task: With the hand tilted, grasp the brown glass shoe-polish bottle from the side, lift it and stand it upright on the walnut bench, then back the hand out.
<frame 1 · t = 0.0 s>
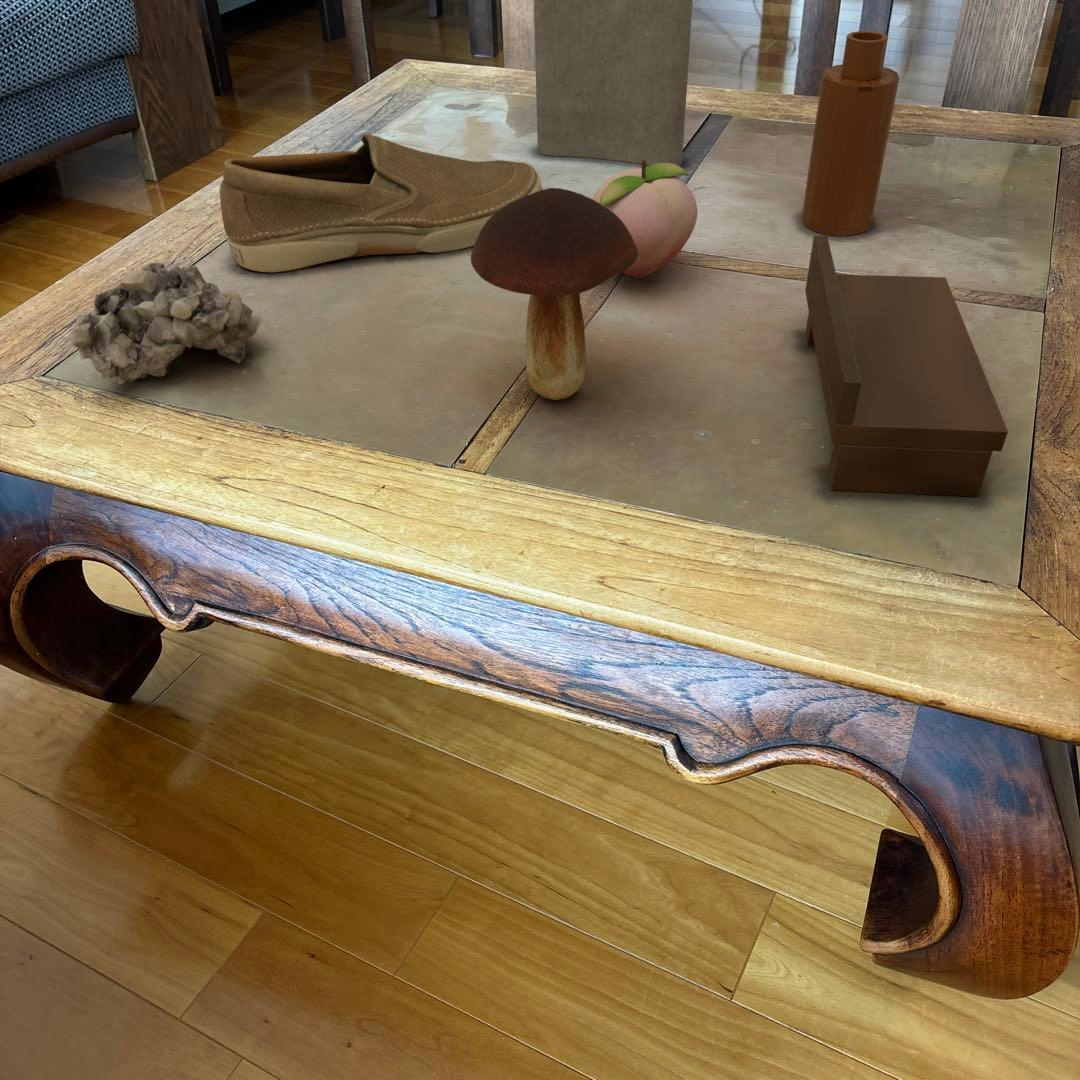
polish bottle: (835, 221, 95), on the table
slip on shoe: (392, 236, 96), on the table
mineral specimen: (184, 366, 79), on the table
walnut bench: (882, 406, 72), on the table
grey upright slab: (609, 156, 109), on the table
decorative fruit: (636, 277, 88), on the table
decorative mushroom: (556, 395, 74), on the table
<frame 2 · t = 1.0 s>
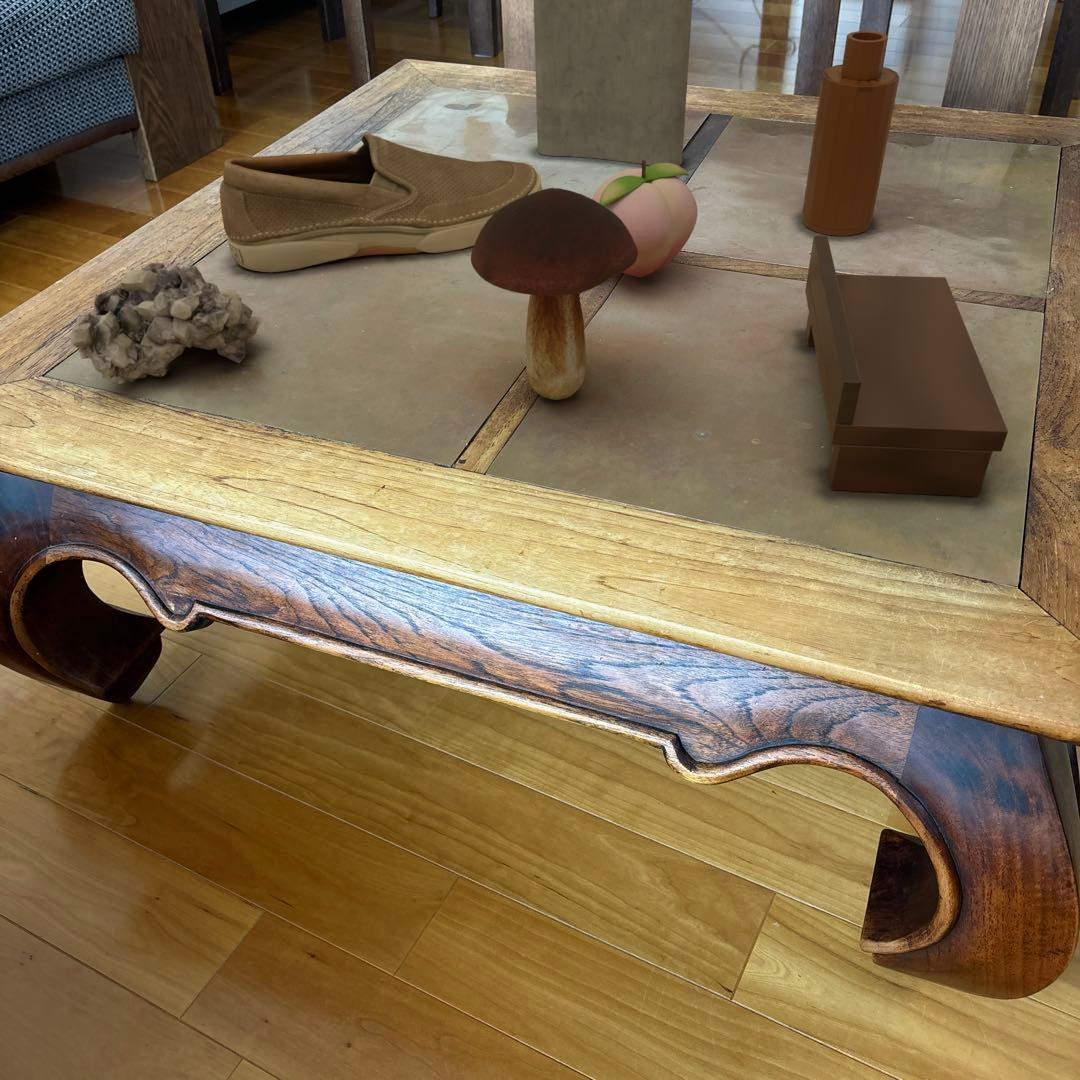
nothing on the table moved.
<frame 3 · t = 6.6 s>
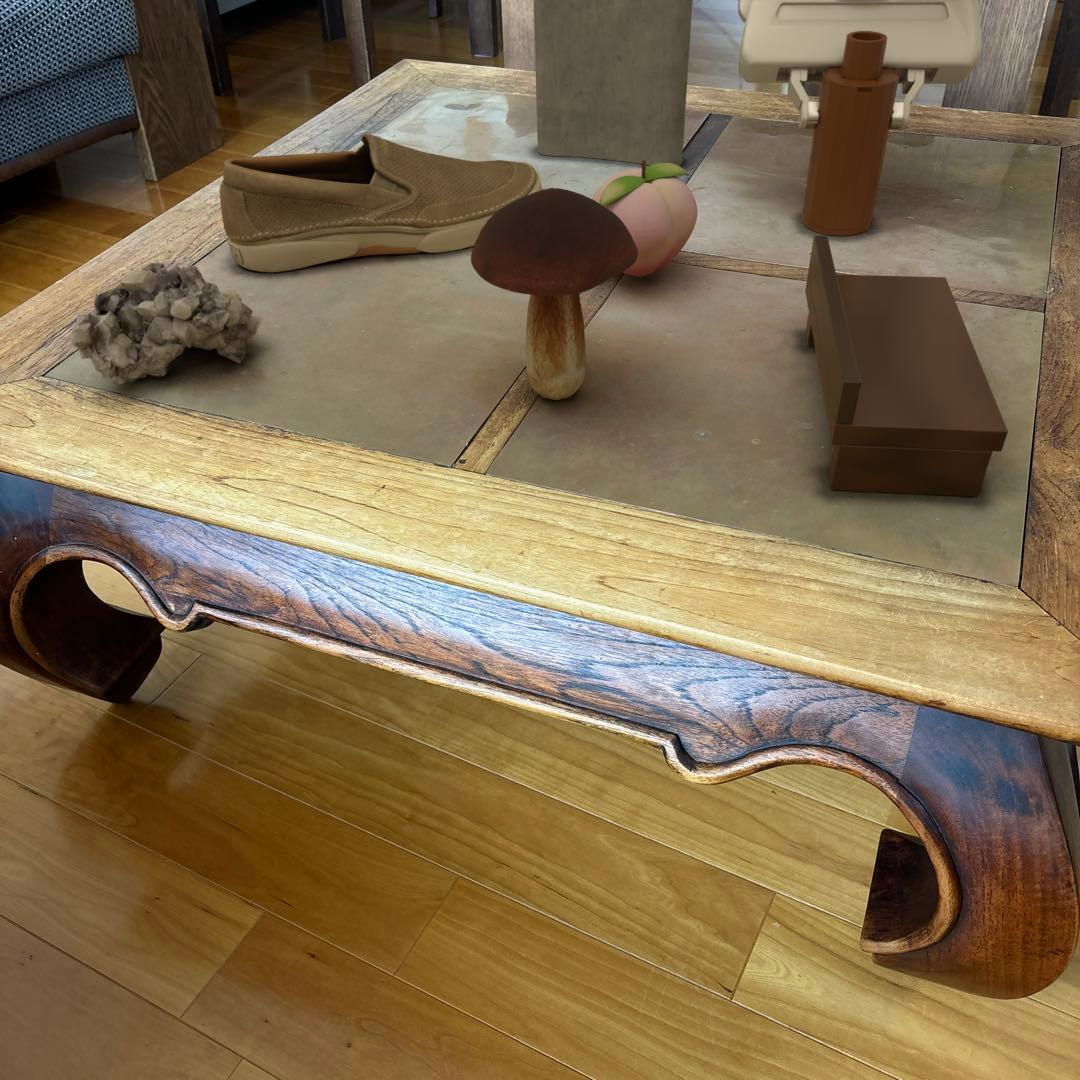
hand: (853, 126, 89), 9 cm above the table, tool tilted 45°, fingers closed on polish bottle, 6 cm apart
polish bottle: (835, 221, 95), on the table, touching gripper
everything else where it was.
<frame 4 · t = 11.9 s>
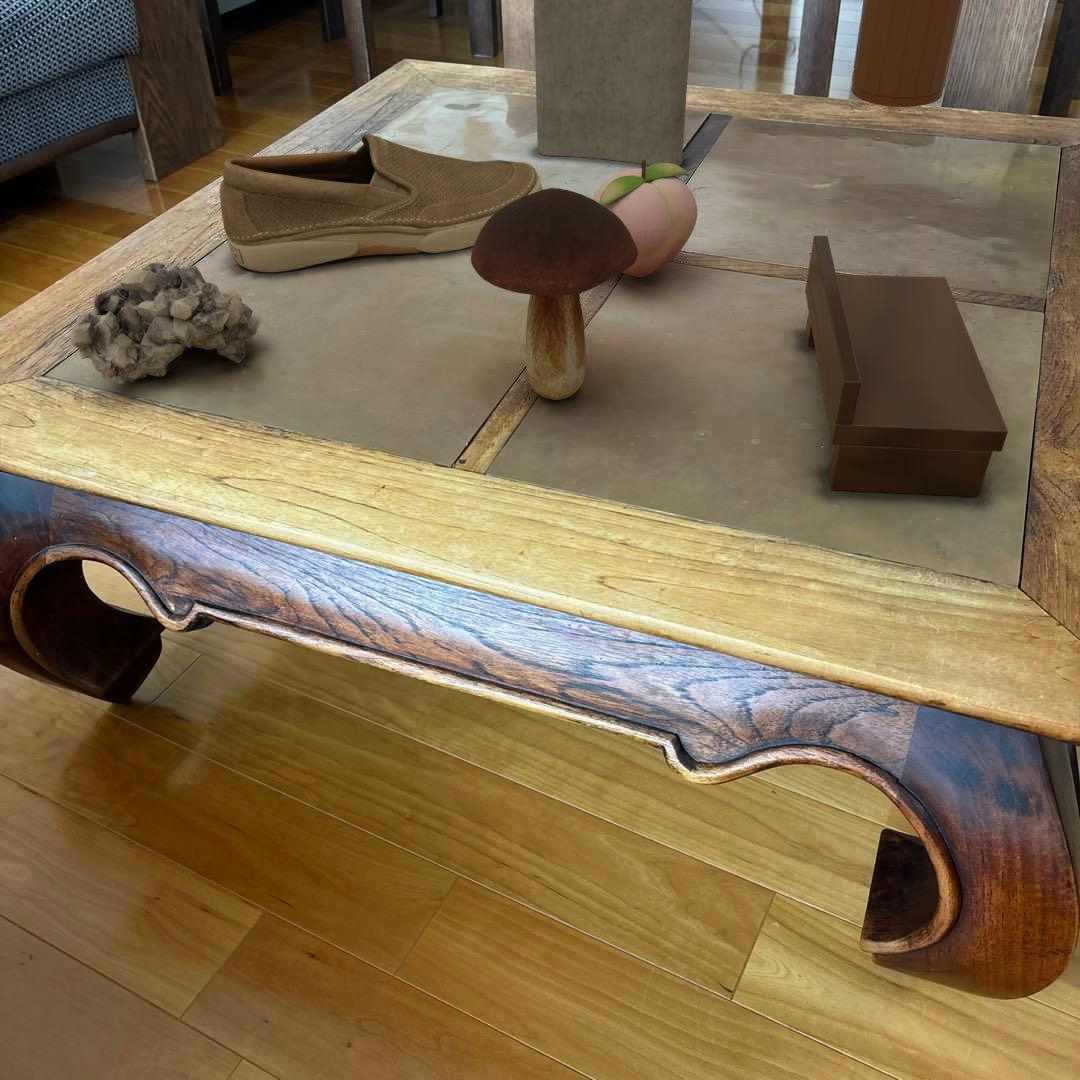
polish bottle: (896, 92, 73), point 16 cm above the table, touching gripper
everything else where it was.
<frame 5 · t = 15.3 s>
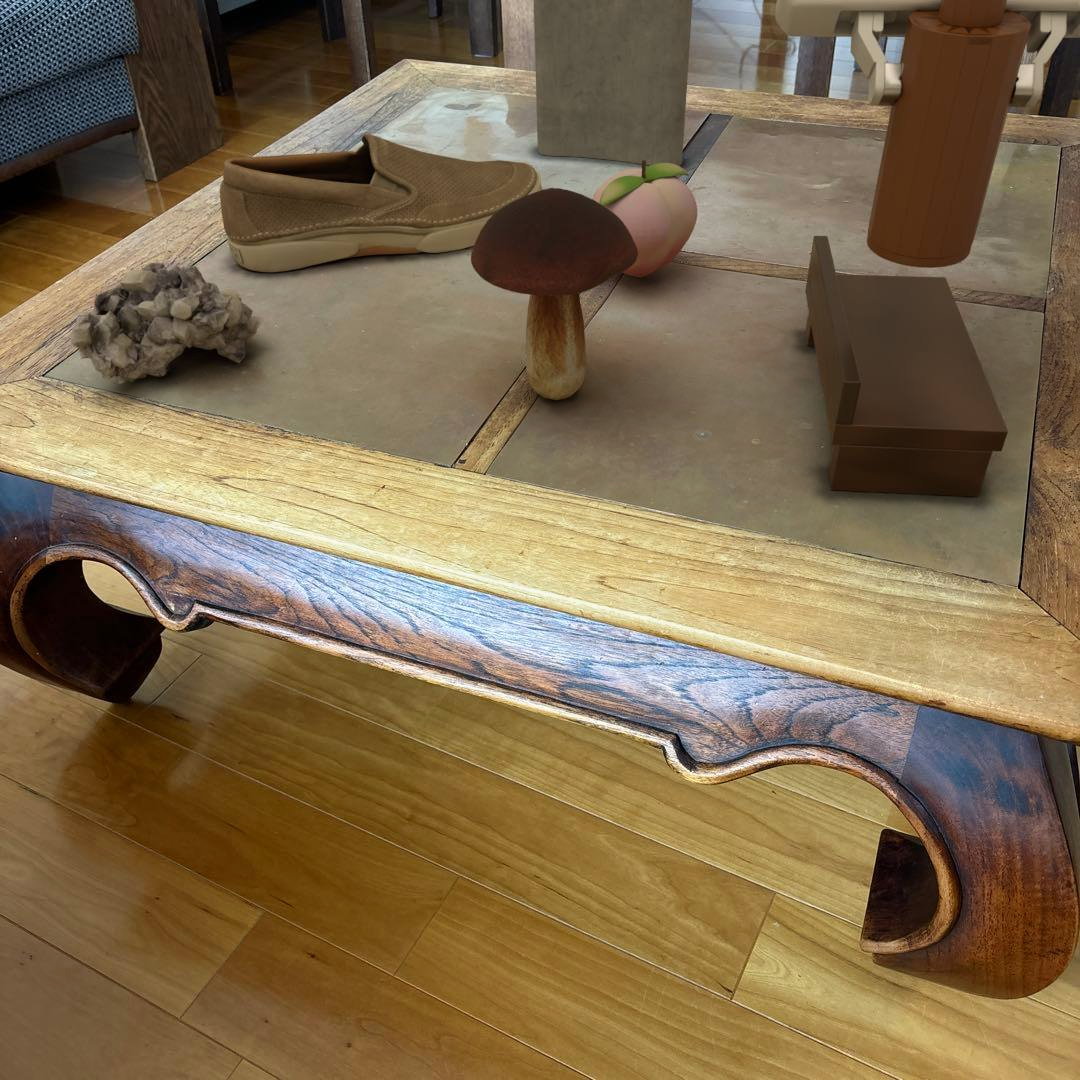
hand: (954, 102, 58), 21 cm above the table, tool tilted 45°, fingers closed on polish bottle, 6 cm apart
polish bottle: (917, 245, 64), point 12 cm above the table, touching gripper
everything else where it was.
when the fingers open (14 cm above the table, at t = 17.7 s): polish bottle stays where it is, resting on walnut bench.
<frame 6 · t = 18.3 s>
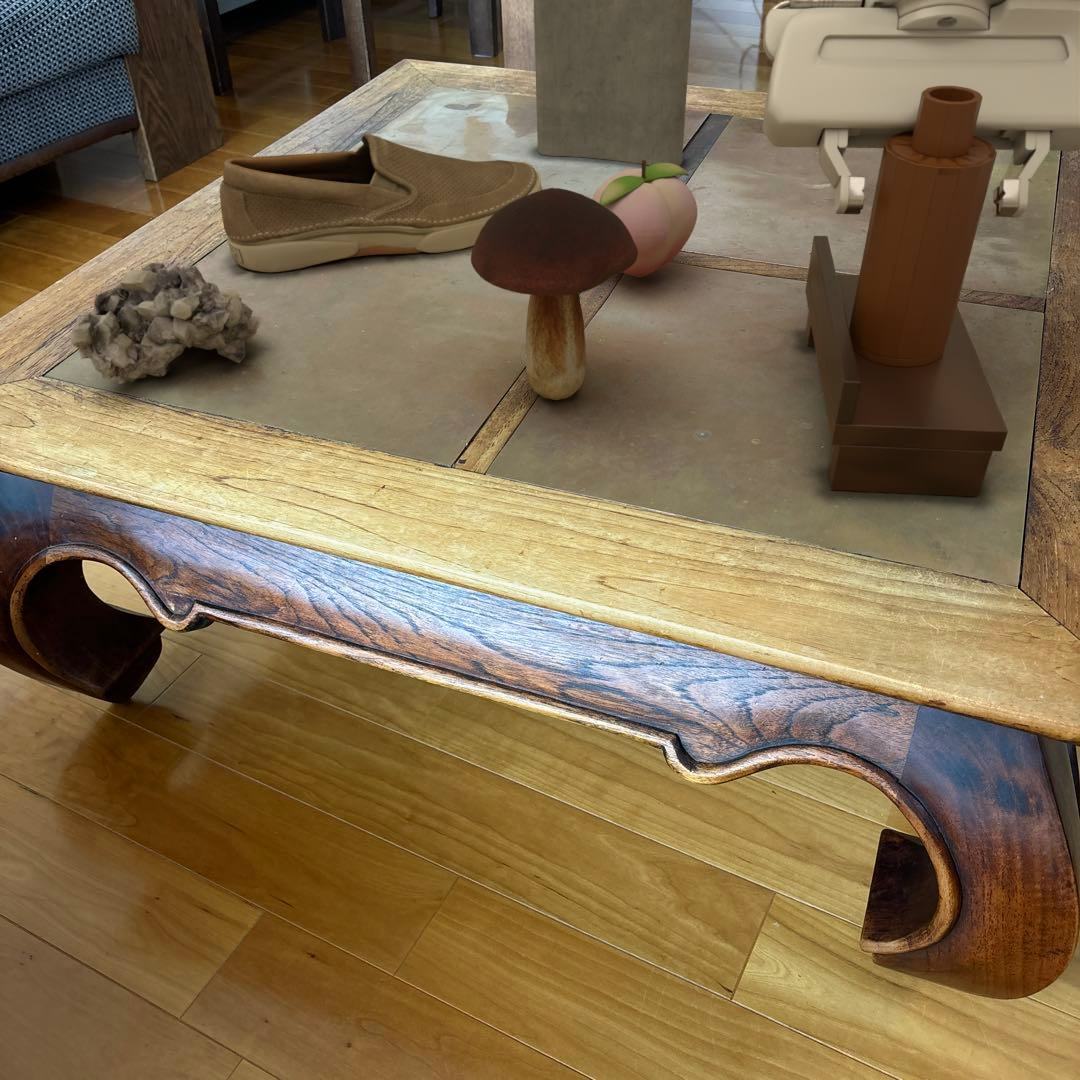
hand: (928, 212, 62), 14 cm above the table, tool tilted 45°, fingers open, 8 cm apart
polish bottle: (895, 343, 68), point 5 cm above the table, touching walnut bench
everything else where it was.
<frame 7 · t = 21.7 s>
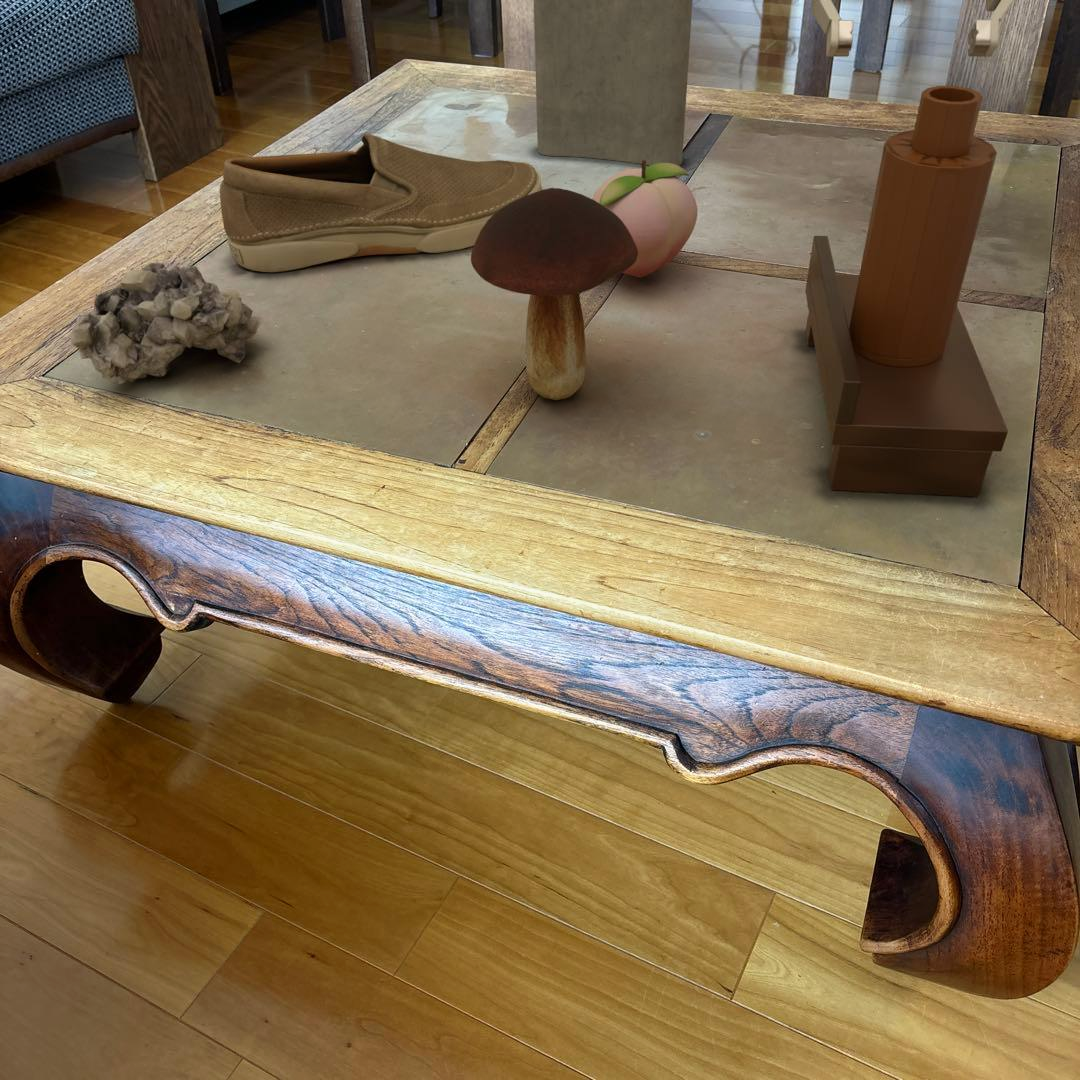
hand: (910, 52, 69), 20 cm above the table, tool tilted 45°, fingers open, 8 cm apart
nothing on the table moved.
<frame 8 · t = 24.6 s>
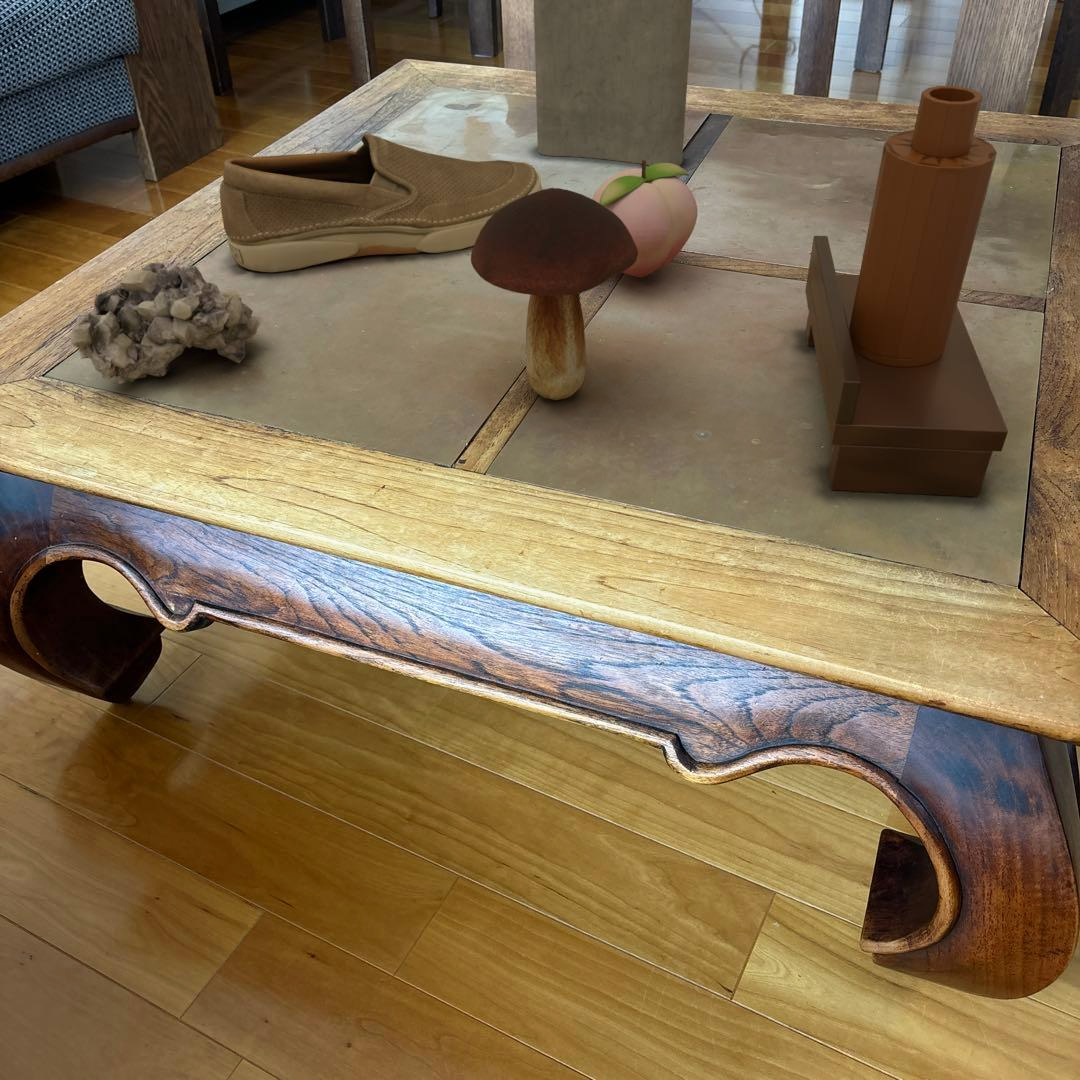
nothing on the table moved.
at the end: polish bottle inside the target area on the walnut bench (1.0 cm from its centre), point 5.0 cm above the walnut bench's base; polish bottle tilted 0°; the gripper is holding nothing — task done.
